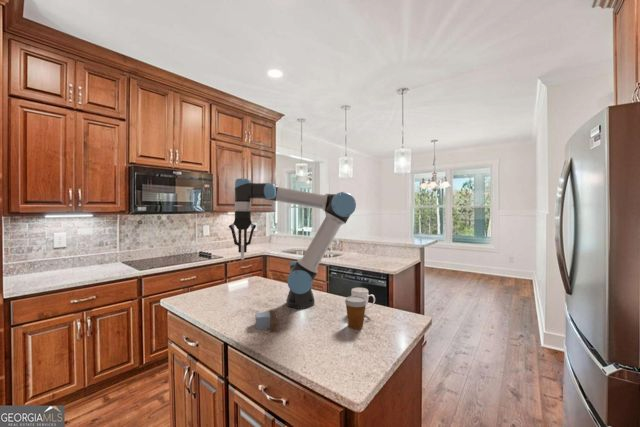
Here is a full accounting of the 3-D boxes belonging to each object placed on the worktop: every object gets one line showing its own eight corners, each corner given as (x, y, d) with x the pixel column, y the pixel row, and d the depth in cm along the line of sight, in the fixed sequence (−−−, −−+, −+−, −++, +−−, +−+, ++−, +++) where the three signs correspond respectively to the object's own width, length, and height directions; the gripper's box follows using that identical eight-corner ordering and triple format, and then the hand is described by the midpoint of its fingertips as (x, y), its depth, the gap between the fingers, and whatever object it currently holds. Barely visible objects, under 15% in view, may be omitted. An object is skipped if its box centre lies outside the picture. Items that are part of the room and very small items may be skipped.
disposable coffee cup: (352, 332, 119) (352, 303, 119) (340, 324, 128) (340, 297, 127) (371, 328, 123) (371, 300, 123) (358, 320, 132) (358, 294, 132)
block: (269, 322, 129) (269, 311, 129) (270, 328, 123) (270, 316, 123) (255, 323, 127) (255, 312, 127) (255, 329, 122) (256, 317, 121)
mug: (348, 313, 141) (348, 290, 140) (355, 308, 148) (355, 286, 148) (371, 318, 134) (371, 294, 134) (377, 313, 142) (377, 290, 141)
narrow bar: (275, 317, 135) (275, 310, 135) (278, 331, 119) (278, 323, 119) (269, 318, 134) (269, 310, 134) (270, 332, 118) (271, 323, 118)
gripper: (256, 210, 144) (256, 257, 145) (229, 210, 141) (229, 258, 142) (256, 210, 137) (256, 260, 137) (228, 210, 134) (227, 260, 134)
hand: (242, 259), depth 140 cm, fingers closed
